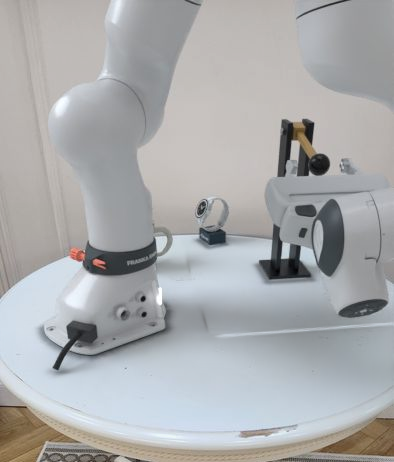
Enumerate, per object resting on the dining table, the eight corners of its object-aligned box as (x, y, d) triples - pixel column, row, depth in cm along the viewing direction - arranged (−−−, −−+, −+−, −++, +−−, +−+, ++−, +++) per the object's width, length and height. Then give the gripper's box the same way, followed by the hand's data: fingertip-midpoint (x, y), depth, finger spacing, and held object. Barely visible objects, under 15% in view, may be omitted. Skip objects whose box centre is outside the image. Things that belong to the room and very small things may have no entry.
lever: (330, 179, 90) (335, 158, 87) (310, 180, 89) (313, 159, 87) (302, 137, 102) (305, 118, 99) (284, 138, 101) (287, 118, 99)
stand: (310, 279, 111) (329, 124, 95) (268, 282, 110) (280, 125, 94) (297, 262, 119) (313, 116, 103) (258, 265, 118) (268, 117, 102)
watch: (192, 241, 130) (191, 196, 124) (221, 236, 133) (222, 192, 127) (202, 249, 126) (202, 202, 120) (232, 243, 129) (233, 198, 123)
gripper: (408, 208, 82) (383, 145, 88) (279, 214, 79) (263, 148, 86) (392, 235, 87) (369, 174, 94) (271, 241, 85) (256, 178, 91)
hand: (317, 162), depth 90 cm, fingers open, 8 cm apart
